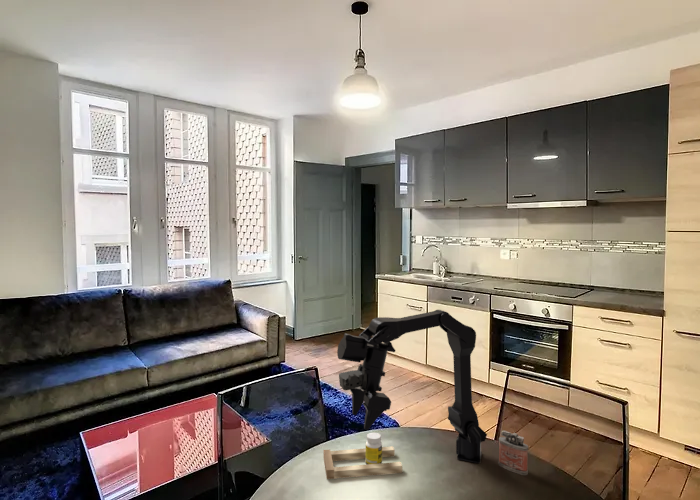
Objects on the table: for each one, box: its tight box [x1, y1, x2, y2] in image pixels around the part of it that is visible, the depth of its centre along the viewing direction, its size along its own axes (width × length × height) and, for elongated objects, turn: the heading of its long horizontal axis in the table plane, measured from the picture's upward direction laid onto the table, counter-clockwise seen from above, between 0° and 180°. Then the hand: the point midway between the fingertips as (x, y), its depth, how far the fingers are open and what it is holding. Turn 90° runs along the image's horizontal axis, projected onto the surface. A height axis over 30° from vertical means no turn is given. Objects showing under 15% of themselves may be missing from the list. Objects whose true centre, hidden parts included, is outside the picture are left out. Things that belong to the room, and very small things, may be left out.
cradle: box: [323, 445, 403, 480], centre depth 118 cm, size 21×11×2 cm, turn 98°
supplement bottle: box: [365, 432, 383, 465], centre depth 118 cm, size 5×5×8 cm
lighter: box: [498, 430, 529, 476], centre depth 116 cm, size 8×3×10 cm, turn 47°
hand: (359, 421), depth 111 cm, fingers open, 9 cm apart
